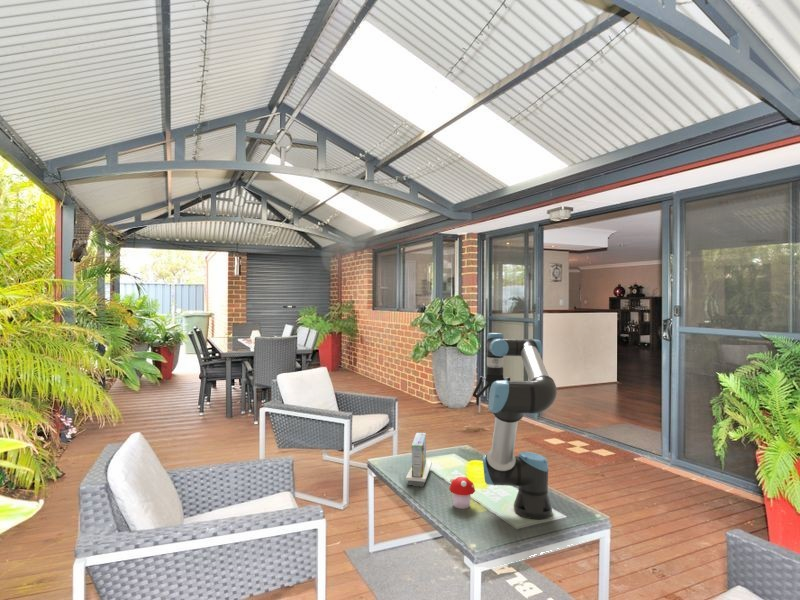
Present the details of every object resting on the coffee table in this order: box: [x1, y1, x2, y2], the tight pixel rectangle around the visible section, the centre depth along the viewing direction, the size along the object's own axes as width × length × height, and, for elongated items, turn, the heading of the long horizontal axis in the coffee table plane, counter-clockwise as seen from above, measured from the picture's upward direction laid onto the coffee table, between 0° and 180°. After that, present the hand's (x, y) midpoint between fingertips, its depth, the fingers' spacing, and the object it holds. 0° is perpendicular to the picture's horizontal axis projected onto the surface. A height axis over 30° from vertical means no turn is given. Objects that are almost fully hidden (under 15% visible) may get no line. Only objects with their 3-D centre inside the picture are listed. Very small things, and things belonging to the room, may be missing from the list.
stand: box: [405, 461, 433, 488], centre depth 235 cm, size 24×9×4 cm, turn 169°
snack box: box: [411, 432, 427, 477], centre depth 235 cm, size 21×6×15 cm, turn 172°
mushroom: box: [449, 476, 476, 510], centre depth 204 cm, size 11×11×12 cm
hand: (494, 412), depth 222 cm, fingers open, 13 cm apart
